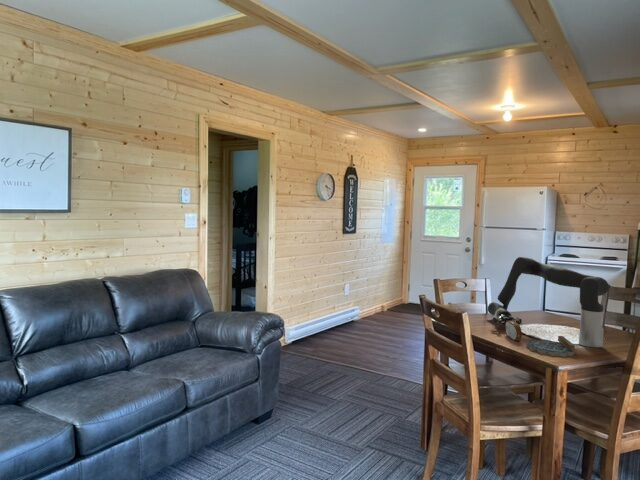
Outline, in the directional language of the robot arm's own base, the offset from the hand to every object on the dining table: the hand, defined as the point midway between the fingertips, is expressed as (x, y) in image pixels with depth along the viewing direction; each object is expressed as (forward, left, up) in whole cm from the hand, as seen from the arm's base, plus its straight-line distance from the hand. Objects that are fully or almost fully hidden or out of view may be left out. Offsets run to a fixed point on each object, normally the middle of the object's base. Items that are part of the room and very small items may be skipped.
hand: (509, 322), depth 243 cm
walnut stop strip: (-20, +24, -4) cm, 31 cm away
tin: (0, +9, -6) cm, 11 cm away
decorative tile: (-13, +25, -7) cm, 29 cm away
